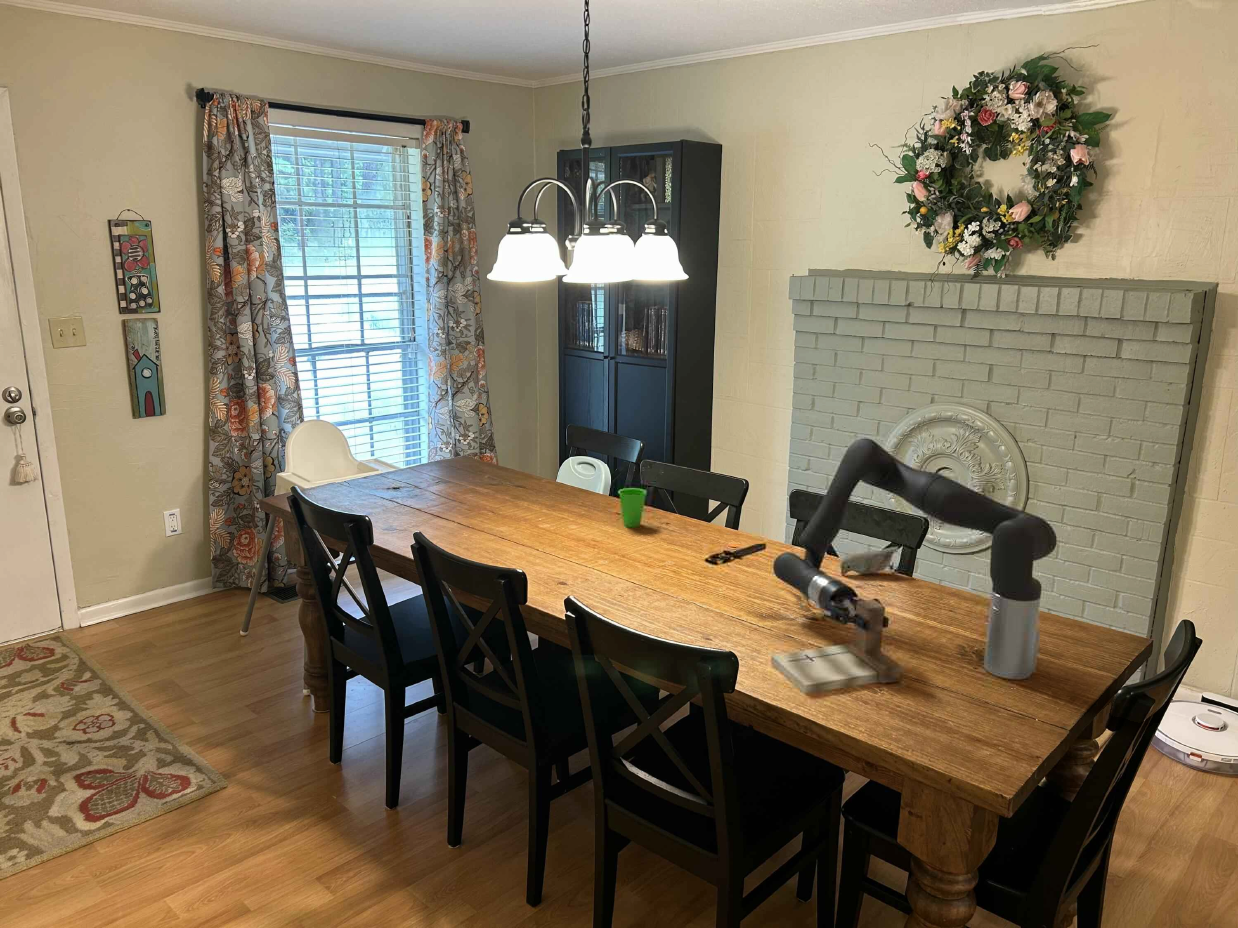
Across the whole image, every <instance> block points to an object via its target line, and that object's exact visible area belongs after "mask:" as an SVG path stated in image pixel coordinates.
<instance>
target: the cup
mask: <svg viewBox="0 0 1238 928" xmlns="http://www.w3.org/2000/svg"><path fill="white" fill-rule="evenodd" d="M617 493H618V494H619V501H620V509H621V515H622V521H623V523H622V524H623V525H624V526H625V527H626V528H638V527H640V525H641V523H642V522H641V521H642V517H643V510H644V505H645V499H646V495H647V493H648V492H647V490H646V489H643V488H637V487H629V488H622V489H619V490H618V491H617Z"/></svg>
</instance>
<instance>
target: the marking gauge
mask: <svg viewBox="0 0 1238 928" xmlns="http://www.w3.org/2000/svg"><path fill="white" fill-rule="evenodd" d="M884 607H885V606H884V605H883V604H882V605H881V604H880V603H878V602H876V601H875V600H873V599H867V600H866V599H865V601H859V602H857V606H856V613H857V615H861V616H862V617H864V618H865V619H867V620H868V621H869V630H868V631H864V630H863V629H861V628H859V627H858V626H856V625H854V635H853V636H854V637H853V643H854V644H851V643H850V644H851V648H850V651H851V652H852V653H854V654H855V655H856V656H858V657H859V658H861V659H862V660H863V661H865V662H866V663H867V664H869V665H870V666H872V667H873V668H874V669H876V670H877V671H878V672H879V677H878V680H879V681H880V683H882V684H887V683H891V682H897V681H898V682H899V681H900V676H901V666H902V665H901V664H900V663H898V662H897V661H896V660H894V659H893V658H891V657H890V656H888V655H887V654H886V653H884V652H883V651H882V642H883V641H882V640H883V629H884V628H883V617H884V616H885V613H884Z"/></svg>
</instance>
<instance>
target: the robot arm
mask: <svg viewBox="0 0 1238 928" xmlns="http://www.w3.org/2000/svg"><path fill="white" fill-rule="evenodd" d="M861 481H862V482H863V483H864V484H866V485H869V486H871V487H874V488H876V489H877V488H878V489H880V490H883V491H885V492H889V493H891V494H893V495H895V496H897V497H899V498H901V499H902V500H904V501H906V502H907V503H908V505H909V504H910V505H911V506H913V507H914V508H916V509H917V510H920V512H922V513H924V514H926V515H927V516H930V517H932V518H934V519H936V520H937V521H940V522H942V523H945V524H947V525H950V526H955V527H959V528H963V529H964V528H965V529H968V530H972V531H973V530H974V531H979V532H982V533H987V534H989V535H991V536H992V538H991V549H990V561H989V562H990V563H989V564H990V565H989V574H990V575H989V577H990V580H991V583H992V589H991V597H990V604H989V605H990V606H989V614H988V616H989V617H988V621H987V622H988V624H987V632H986V640H985V641H986V642H985V650H984V657H983V658H984V660H983V668H984V669H985V671H987V672H988V673H990V674H991V675H993V676H995V677H999V678H1003V679H1007V680H1025V679H1028V678H1029V677H1030V676H1031V675H1032V674H1036V673H1035V672H1036V665H1037V658H1038V651H1039V644H1040V643H1039V642H1040V636H1041V635H1040V633H1041V631H1040V630H1039V628H1038V619H1039V614H1040V613H1039V612H1040V605H1041V604H1040V603H1041V597H1042V588H1043V587H1042V583H1041V582H1040V580H1038V579H1036V578H1035V577H1033V571H1034V570H1033V569H1034V562H1035V561H1038V560H1041V559H1043V558H1046V557H1048V556H1049V555H1050V554H1052V552H1054V551H1055V549H1056V547H1057V543H1058V541H1057V534H1056V532H1055V530H1054V528H1053V526H1052V525H1051V524H1050V523H1049V522H1047V521H1046V520H1045V519H1044V518H1042V517H1040V516H1039V515H1035V514H1033V513H1029V512H1027V511H1024V510H1020V509H1018V508H1014V507H1012V506H1009V505H1007V504H1003V503H1001V502H999V501H996V500H994V499H992V498H990V497H988V496H987V495H984V494H982V493H981V492H978V491H976V490H974V489H972V488H969V487H967V486H966V485H963V484H962V483H960V482H958V481H955V480H954V479H952V478H949V477H947V476H944V475H943V474H940V473H936V472H933V471H928V470H919V469H917V468H916V469H915V468H913V467H911V466H910V465H907V464H905V463H904V462H902V461H901V460H899V459H897V458H896V457H894V456H893V455H892V454H891V453H890V452H888V451H887V449H885V448H883V447H882V446H881V445H880V444H879V443H878V442H877V441H874V439H871V438H866V437H864V438H859V439H857V440H855V441H854V442H853V443H851V444H850V446H849V447H848V448H847V449H846V451H845V454H844V455H843V457H842V459H841V461H840V464H839V465H838V468H837V470H836V472H835V474H834V476H833V478H832V480H831V483H830V484H829V487H828V488H827V492H826V493H825V495H824V497H823V499H822V501H821V503H820V504H819V506H818V509H817V510H816V512H815V513H814V515H813V516H812V518H811V519H810V520H809V522H808V523H807V526H806V527H805V528H804V530H803V531H802V533H801V534H800V535H799V538H798V542H799V545H800V546H801V547H802V548H803V549H804V551H805V554H804V557H803V558H801V557H800V556H799V555H797V554H795V553H793V552H783V553H780V554H779V555H778V556H777V557H776V558H775V559H774V562H773V564H772V566H773V567H772V569H773V573H774V575H775V576H776V577H777V579H778V580H780V581H782V582H784V583H786V584H787V585H789V586H790V587H792V588H794V589H795V590H797V591H798V592H800V593H801V594H802V595H803V596H805V597H806V598H807V599H809V600H810V601H812V602H813V603H814V604H815V605H816V606H817V607H818V608H820V609H821V610H823V617H824V618H826V619H828V620H831V621H832V622H835V623H838V624H840V625H843V626H847V625H848V624H850V625H852V626H855V625H856V626H858V627H859V628H861V629H863V630H864V631H868V630H869V621H868V620H867V619H865V618H864V617H862V616H861V615H857V613H856V606H857V602H859V601H866V599H863V598H861V597H859V596H858V593H857V592H856V590H855V589H854V588H852V587H851V586H849V585H848V584H846V583H844V582H843V581H841V580H840V579H838V578H836V577H834V576H833V575H829V574H828V573H826V572H824V571H823V570H821V566H822V563H823V561H824V558H825V555H826V553H827V551H828V549H829V547H830V546H831V545H832V543H833V541H834V540H835V538H837V535H838V534H839V532H840V530H841V529H842V526H843V523H844V520H845V516H846V513H847V507H848V505H849V504H848V503H849V501H850V499H851V495H852V494H853V492H854V490H855V489H856V487H857V485H858V484H859V483H860V482H861ZM872 600H875V601H876V602H878V603H880V604H881V605H883V603H881V601H880V599H879V598H876V597H875V598H873V599H872ZM885 611H886V607H885V606H884V614H885ZM889 621H890V618H889V617H888V616H886V615H884V617H883V629H886V628H888V627H889Z"/></svg>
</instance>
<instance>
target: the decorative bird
mask: <svg viewBox="0 0 1238 928" xmlns="http://www.w3.org/2000/svg"><path fill="white" fill-rule="evenodd" d="M898 551H899V549H898V546H895V547H894V546H892V547H888V548H884V549H880V550H869V551H863V552H861V553H852V554H848V555H846V556H844V557H843V558H842V561H841V563H840V574H841V576H845V575H846V574H847V573H849V572H854V573H857V574H859V575H860V574H862V575H867V574H868V575H870V574H875V573H877V572H881V571H884V570H885V569H887V568H888V569H889V571H892V573H893V574H894V573H895V575H896V576H897V572H898V569H899V565H897V567H896V568H894V563H895V561H894V562H892V558H893V556H894V554H896V553H898ZM891 562H892V564H891Z"/></svg>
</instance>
